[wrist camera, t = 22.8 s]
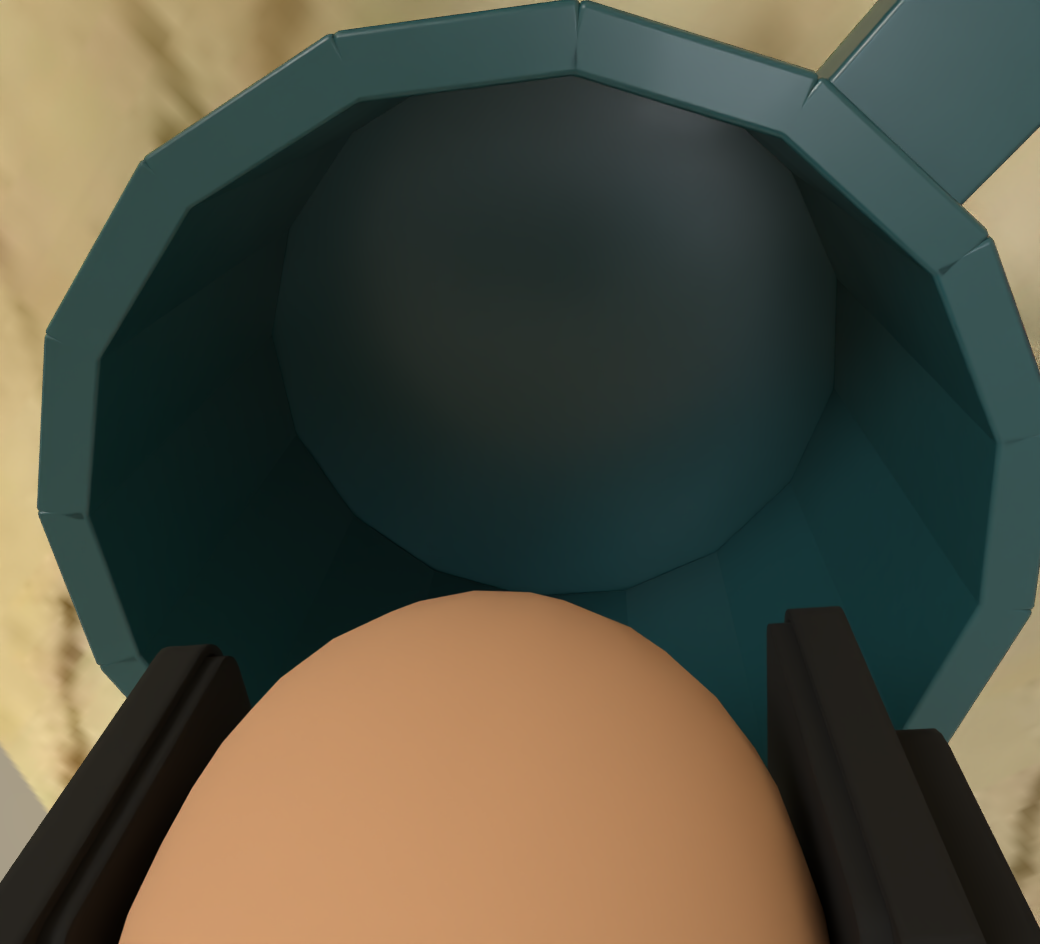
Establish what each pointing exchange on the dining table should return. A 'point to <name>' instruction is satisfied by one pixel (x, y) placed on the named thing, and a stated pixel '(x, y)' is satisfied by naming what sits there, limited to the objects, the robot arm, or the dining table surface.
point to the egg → (483, 797)
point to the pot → (567, 350)
